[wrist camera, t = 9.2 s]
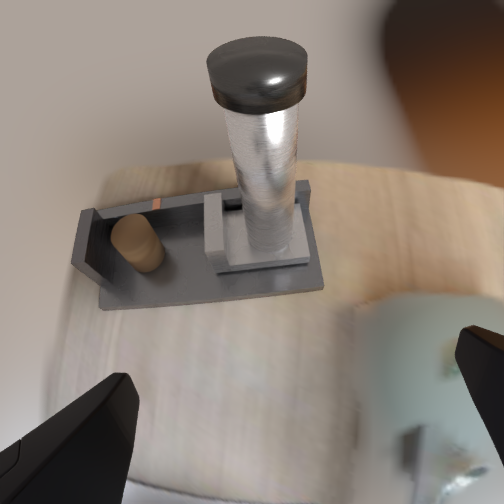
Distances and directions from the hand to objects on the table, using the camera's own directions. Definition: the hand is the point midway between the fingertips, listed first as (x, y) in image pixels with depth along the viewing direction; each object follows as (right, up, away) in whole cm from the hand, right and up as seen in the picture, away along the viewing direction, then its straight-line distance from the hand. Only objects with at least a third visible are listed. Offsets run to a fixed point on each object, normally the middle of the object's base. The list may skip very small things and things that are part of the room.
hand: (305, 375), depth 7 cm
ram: (-1, +4, +16) cm, 16 cm away
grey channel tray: (-5, +3, +17) cm, 18 cm away
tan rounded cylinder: (-9, +3, +16) cm, 19 cm away
